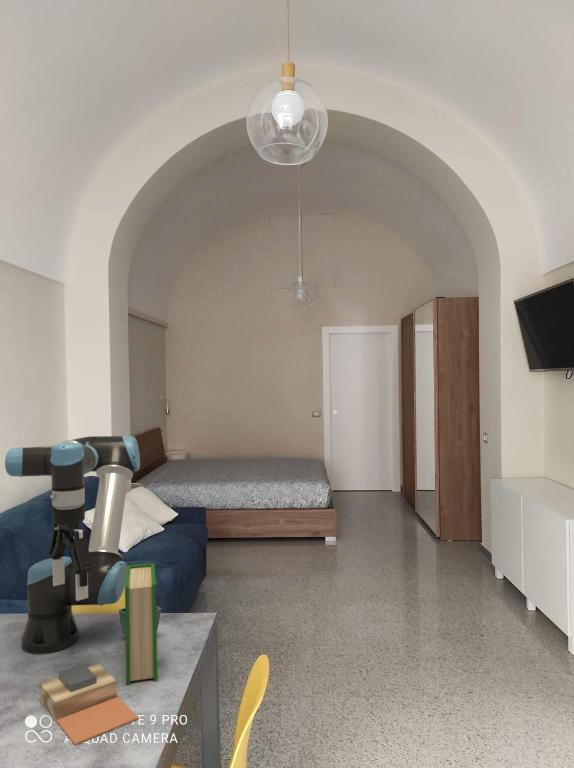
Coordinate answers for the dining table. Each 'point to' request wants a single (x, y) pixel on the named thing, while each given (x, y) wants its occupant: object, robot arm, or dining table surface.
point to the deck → (77, 694)
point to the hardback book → (140, 622)
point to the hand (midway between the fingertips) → (70, 591)
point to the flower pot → (122, 618)
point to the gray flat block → (77, 678)
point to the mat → (96, 720)
